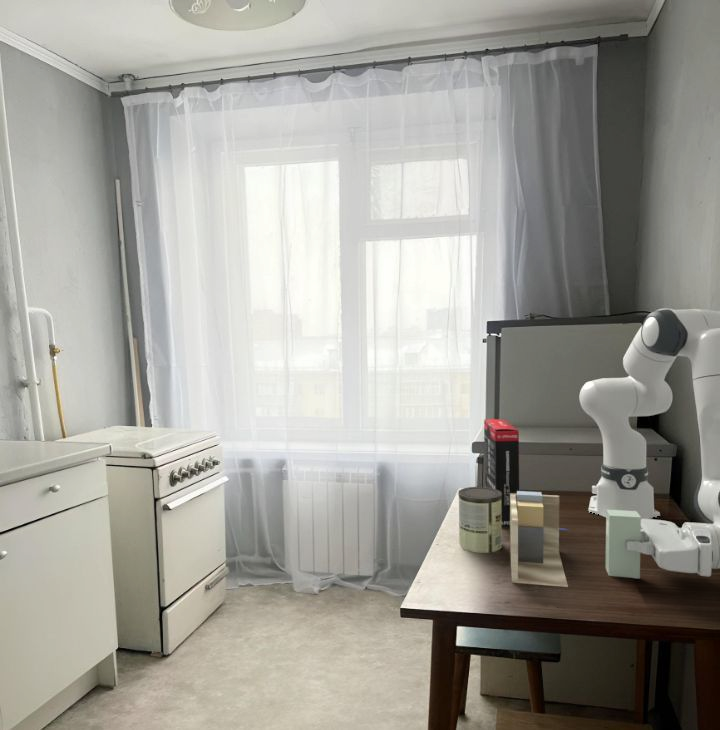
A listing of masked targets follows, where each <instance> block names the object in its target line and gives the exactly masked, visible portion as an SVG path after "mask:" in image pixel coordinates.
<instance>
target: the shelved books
mask: <svg viewBox="0 0 720 730" xmlns="http://www.w3.org/2000/svg"><path fill="white" fill-rule="evenodd" d="M542 495H543V494H542V491H524V490H519V491H517V515H518V526H527V527H543V503H542Z"/></svg>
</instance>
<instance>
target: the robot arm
mask: <svg viewBox="0 0 720 730" xmlns="http://www.w3.org/2000/svg"><path fill="white" fill-rule="evenodd" d="M677 357H685V358H686V357H687V358H688V360H689V361H690V363H691V374H692V375H691V376H692V377H691V378H692V387H693V394H694V401H695V402H694V403H695V407H696V415H697V423H698V425H697V426H698V447H699V448H698V449H699V450H698V451H699V469H700V470H699V473H700V474H699V480H698V483H697V486H696V489H695V491H694V495H693V505H694V509H695V512H696V513H697V515H698V516H699V517H700V518H701V519H702V520H703V521H704V522H688V521H687V522H684V523H683V524H682V526H681V527H679V526H678V525H676V523H674V522H672V521H669V520H668V521H667V520H663V519H662V520H661V519H654V518H653V517H655V518H658V517H657V516H660V517H661V513H660V511H658V510H656V509H655V502H654V501H655V500H654V499H655V498H654V497H655V495H654V486H652V485H651V484H650V483H649V482H648V479H649V477H648V476H649V471H648V470H649V468H648V466H647V440H646V438H645V437H644V436H643V434H641V433H640V432H639V431H636V430H635V429H633V428H632V427H631V425H630V421H629V420H630V419H629V418H630V417H650V416H655V415H659V414H663V413H666V412H667V411H668V410H669V409H670V407H671V405H672V404H673V403H672V402H673V398H674V397H673V391H672V388H671V387H670V385H669V384H668V383H667V381H665V379H666V376H667V374H668V372H669V370H670V369H671V367H672V365H673V363H674V362H675V360H676V358H677ZM622 365H623V366H622V367H623V369H624V370H625V373H626V374H627V375H628V376H626V377H607V378H606V377H603V378H598V379H593V380H590V381H589V380H588V381H587V382H585V383H584V385H582V387H581V389H580V392H579V397H578V398H579V399H578V400H579V403H580V404H579V405H580V406H581V408H582V410H583V411H584V412H585V414H587V415H588V416H590V418H592V420H594V421H595V423H596V424H597V426H598V428H599V431H600V434H601V438H602V439H601V440H602V447H603V448H602V450H603V452H602V453H603V455H602V456H603V458H602V459H603V462H602V463H601V467H600V472H601V473H600V474H601V475H600V476H601V477H600V479H599V481H598V483H596V485H592V486H591V493H592V494H596V495H592V496H591V497H590V500H589V505H588V509H587V510H588V511H589V512H588V513H590V512H592V513H591V514H593V513H595V514H594V515H598V514H599V516H601V517H603V518H606V510H623V511H637V513H638V514H639V515H640V517H641V540H640V542H637V541H635V540H626V545H625V546H626V548H627V550H629V551H637V552H640V554H644V555H651V556H652V558H653V560H654V561H655V563H656V564H657V566H658V567H659V568H661V569H662V570H665V571H669V572H670V571H671V572H678V573H686V574H696V573H697V575H698V576H701V577H711V576H712V569H716V570H717V569H720V310H717V311H716V310H711V309H702V308H699V309H698V308H692V309H688V308H687V309H684V308H683V309H674V308H669V307H668V308H666V307H665V308H659V309H656V310H655V311H652V312H650V313H649V314H648V315H647V316H646V317H645V319H644V320H643V323H642V325H641V326H640V328H639V329H638V331H637V332H636V334H635V336H634V337H633V339H632V341H631V342H630V345H629V346H628V348H627V350H626V352H625V353H624V356H623V359H622Z"/></svg>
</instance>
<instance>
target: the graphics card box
mask: <svg viewBox="0 0 720 730" xmlns="http://www.w3.org/2000/svg"><path fill="white" fill-rule="evenodd" d="M483 427H484V428H483V429H484V431H483V432H484V433H483V434H484V440H483V441H484V443H483V444H484V445H483V446H484V487H487V488H493V489H496V490H499V491H500V492H501V493H502V497H501V513H502V514H501V516H502V527H510V493H516V494H517V491H520V445H519V444H520V442H519V441H520V440H519V439H520V438H519V437H520V436H519V434H520V433H519V432H520V431H519V430H518V429H517V428H516V427H514V426H513V425H512V424H510V423H509V422H508V421H507V420H505V419H499V418H497V419H496V418H494V419H493V418H490V419H489V418H488V419H486V418H485V419H483Z"/></svg>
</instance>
